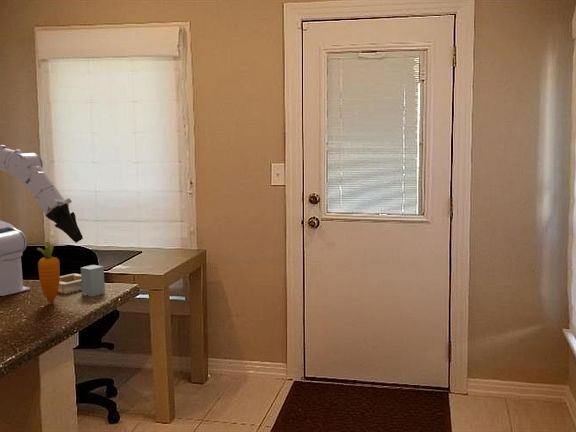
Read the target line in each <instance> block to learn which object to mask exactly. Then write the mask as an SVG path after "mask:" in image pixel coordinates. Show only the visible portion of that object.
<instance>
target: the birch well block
mask: <svg viewBox="0 0 576 432" xmlns="http://www.w3.org/2000/svg"><path fill="white" fill-rule="evenodd" d="M79 290H81V291H82V282H81V273H75V272H74V273H70V274H65V275H60V280H59V288H58V292H57V293H59V292H60V293H59V294H63V293H64V294H63V295H68V294H72V293H75V292H74V291H76V292H80V291H79ZM71 292H72V293H71ZM67 293H68V294H67Z"/></svg>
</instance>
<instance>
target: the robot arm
mask: <svg viewBox="0 0 576 432" xmlns="http://www.w3.org/2000/svg"><path fill="white" fill-rule="evenodd" d="M43 163H44V162H43V160H42V157H41V156H40V155H39V154H37V153H35V152H33V151H31V152H30V151H29V152H24V153H23V151H22V150H21V149H17V148H16V149H14V150H13V149H10V148H7V145H4V144H0V171H1V172H6V173H9V174H10V176H11V177H13V178H16V179H18V180H19V182H21V183H23V184H24V185H25V188H27V190H28V191H29V193H30V194H31V196H32V197H33V198H34V200H35V202H36V203H37V204H38V205H39V207H40V208H41V210H42V211H43V213H44V216H45V217H46V218H47V219H48V220H50V221H52V222H54V223H55V224H54V226H55V228H57V229H59V230H61V231H62V232H64V233H65V234H66V235H67V236H68V237H69V238H70V239H71V240H72V241H73V242H74V243H76V244H77V243H79V242H80V241H82V240H83V239H84V237H83V235H82V232H81V230H80V228H79V226H78V223H77V218H76V217H77V216H76V214H75V212H74V211H72V212H70V208H69V205H70V204H71V203H72V200H71V198H70V197H68V198H66V199H65V198H64V197H63V196H62V194H61V192H60V191H59V189H58V188H57V187H56V185H55V184H54V182H53V181H52V179H50V177H49V176H48V174H47V172H46V171H44V169H43V166H44V164H43ZM27 244H28V241H27V236H26V235H25V233H24V232H23V231H21V230H20V229H17V228H16V227H15V226H14V225H13V224H12V223H9V222H6V221H4V220H0V297H4V296H9V295H13V294H18V293H22V292H26V291H30V290H31V287H29V286H24V281H23V269H22V257H23V256H24V255H23V254H24V253H23V252H24V251H25V250H26V249H27V246H28V245H27Z"/></svg>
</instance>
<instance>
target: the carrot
mask: <svg viewBox="0 0 576 432" xmlns="http://www.w3.org/2000/svg"><path fill="white" fill-rule="evenodd" d="M45 245H46V246H44V249H45V250H44V249H43V248H40V247H37V249H36V251H39V253H41V254H42V255H43V256H44V257H42V258H40V259H39V260H38V263H37V268H38V275H39V276H38V277H39V283H40V286H41V290H42V292H43V295H44V297H45V299H46V300H47V302H48V303H49V304H51V303H52V304H54V302H55V300H56V297H57V294H58V293H59V292H58V288H59V280H60V276H61V275H60V274H61V273H60V272H61V269H60V268H61V267H60V259H59V258H58V257H55V256H52V253H53V251H54V247H55V245H53V244H51V243H50V242H49V241H46V242H45Z"/></svg>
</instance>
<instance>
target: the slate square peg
mask: <svg viewBox="0 0 576 432" xmlns="http://www.w3.org/2000/svg"><path fill="white" fill-rule="evenodd" d="M80 274H81V282H82V290H81V294H82V295H83V294H85V295H84V296H87V295H89V296H88V297H91V296H93V297H95V296H96V295H97V296H100V294H101V295H103V294H106V289H105V286H106V285H105V269H104V266H103V265H96V264H90V265H86V266H83V267H80ZM97 296H96V297H97Z"/></svg>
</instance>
